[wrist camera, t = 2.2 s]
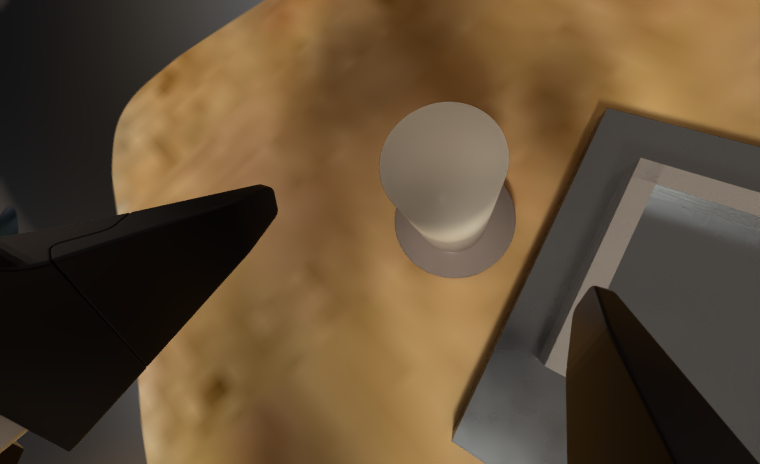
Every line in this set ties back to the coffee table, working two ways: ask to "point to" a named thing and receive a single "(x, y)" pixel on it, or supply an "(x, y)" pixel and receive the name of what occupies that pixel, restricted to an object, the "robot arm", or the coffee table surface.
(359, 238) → the coffee table surface
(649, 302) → the keeper board
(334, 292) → the coffee table surface
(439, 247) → the beige flared base peg
